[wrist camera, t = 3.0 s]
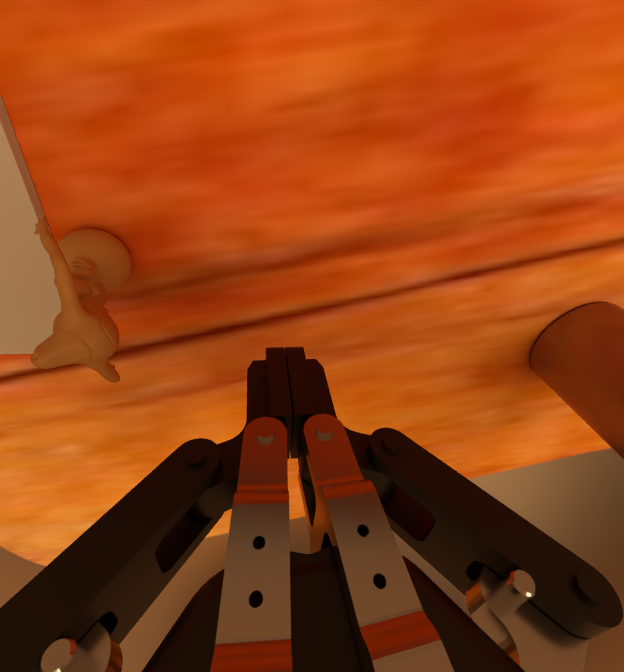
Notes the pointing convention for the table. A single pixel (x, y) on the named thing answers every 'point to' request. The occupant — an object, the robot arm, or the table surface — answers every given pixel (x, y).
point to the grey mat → (22, 254)
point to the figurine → (83, 299)
